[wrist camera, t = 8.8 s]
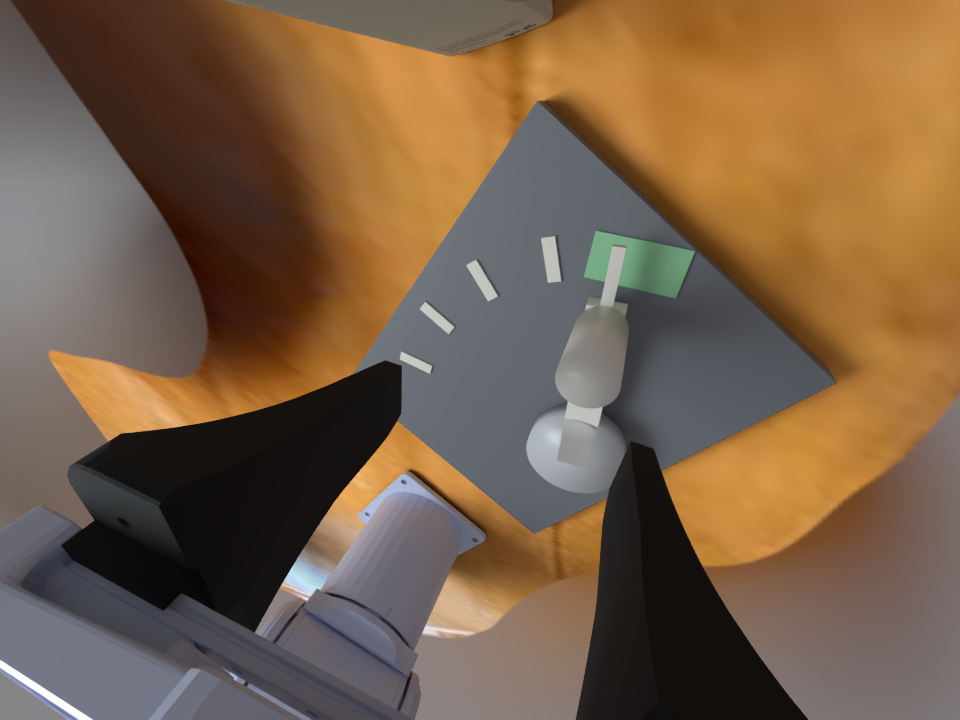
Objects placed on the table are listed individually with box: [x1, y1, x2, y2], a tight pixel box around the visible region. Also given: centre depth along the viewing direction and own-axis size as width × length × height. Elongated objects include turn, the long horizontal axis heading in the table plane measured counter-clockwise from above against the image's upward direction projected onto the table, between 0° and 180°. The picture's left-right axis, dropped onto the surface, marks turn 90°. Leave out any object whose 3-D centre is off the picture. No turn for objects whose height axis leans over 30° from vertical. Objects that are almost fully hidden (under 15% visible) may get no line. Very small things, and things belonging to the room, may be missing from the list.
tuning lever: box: [526, 244, 629, 493], centre depth 18 cm, size 14×5×5 cm, turn 178°
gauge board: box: [354, 101, 836, 534], centre depth 22 cm, size 19×16×1 cm
